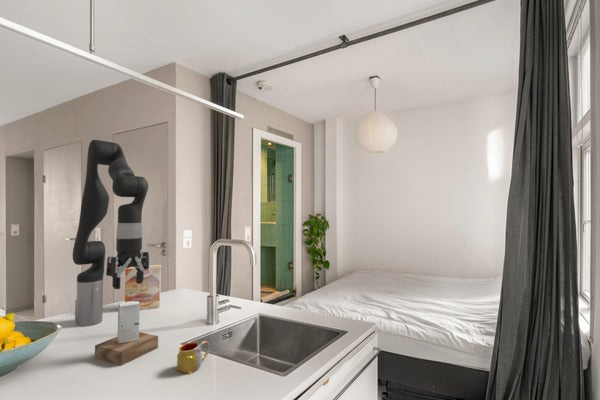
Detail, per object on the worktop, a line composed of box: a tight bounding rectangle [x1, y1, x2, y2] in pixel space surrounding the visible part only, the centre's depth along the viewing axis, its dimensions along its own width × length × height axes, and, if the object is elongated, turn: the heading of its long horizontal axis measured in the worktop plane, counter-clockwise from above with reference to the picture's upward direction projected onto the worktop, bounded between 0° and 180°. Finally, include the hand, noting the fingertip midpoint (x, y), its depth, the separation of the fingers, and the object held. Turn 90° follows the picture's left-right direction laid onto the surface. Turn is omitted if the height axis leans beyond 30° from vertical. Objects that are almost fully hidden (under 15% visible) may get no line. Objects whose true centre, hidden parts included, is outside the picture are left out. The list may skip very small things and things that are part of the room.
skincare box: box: [116, 301, 141, 344], centre depth 112 cm, size 6×4×12 cm
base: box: [94, 331, 159, 366], centre depth 111 cm, size 12×14×4 cm
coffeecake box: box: [124, 264, 162, 311], centre depth 161 cm, size 15×7×20 cm, turn 111°
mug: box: [176, 340, 211, 375], centre depth 103 cm, size 12×7×7 cm, turn 149°
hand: (128, 285), depth 111 cm, fingers open, 8 cm apart
